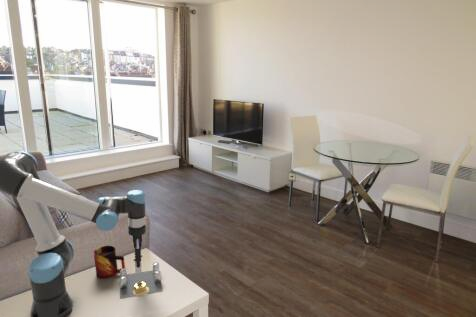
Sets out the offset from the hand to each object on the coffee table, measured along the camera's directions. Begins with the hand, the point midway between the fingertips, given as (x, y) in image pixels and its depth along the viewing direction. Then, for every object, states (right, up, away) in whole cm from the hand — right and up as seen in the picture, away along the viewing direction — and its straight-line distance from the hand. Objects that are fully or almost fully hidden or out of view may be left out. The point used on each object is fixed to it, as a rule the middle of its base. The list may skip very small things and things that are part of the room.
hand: (138, 271), depth 157 cm
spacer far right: (+6, -3, +8) cm, 11 cm away
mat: (+1, -6, 0) cm, 6 cm away
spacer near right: (+9, -5, +2) cm, 10 cm away
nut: (+2, -6, -4) cm, 8 cm away
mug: (-15, -3, +8) cm, 18 cm away
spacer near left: (-6, -6, -3) cm, 9 cm away
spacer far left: (-8, -4, +3) cm, 10 cm away
